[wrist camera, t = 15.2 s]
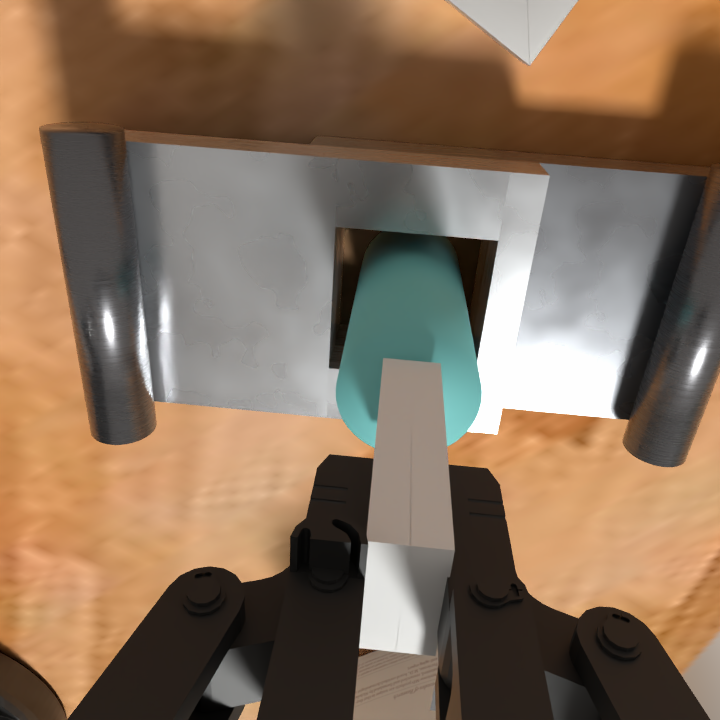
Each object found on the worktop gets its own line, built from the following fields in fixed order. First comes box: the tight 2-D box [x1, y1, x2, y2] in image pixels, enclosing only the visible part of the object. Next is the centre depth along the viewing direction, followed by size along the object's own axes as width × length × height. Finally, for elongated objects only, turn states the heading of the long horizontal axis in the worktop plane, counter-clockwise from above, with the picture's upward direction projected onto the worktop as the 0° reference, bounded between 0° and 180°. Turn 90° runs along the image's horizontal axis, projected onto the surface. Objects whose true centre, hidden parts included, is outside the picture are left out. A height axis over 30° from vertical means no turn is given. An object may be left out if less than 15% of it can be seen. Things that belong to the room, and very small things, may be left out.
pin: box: [336, 231, 482, 448], centre depth 22 cm, size 4×4×10 cm
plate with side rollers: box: [39, 122, 720, 467], centre depth 23 cm, size 11×24×6 cm, turn 86°
